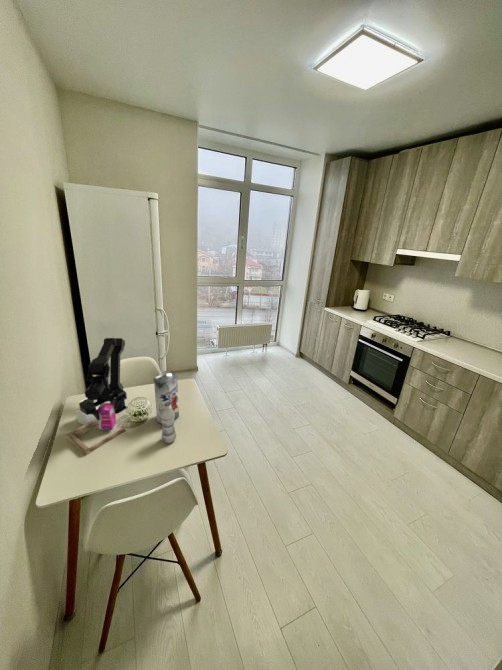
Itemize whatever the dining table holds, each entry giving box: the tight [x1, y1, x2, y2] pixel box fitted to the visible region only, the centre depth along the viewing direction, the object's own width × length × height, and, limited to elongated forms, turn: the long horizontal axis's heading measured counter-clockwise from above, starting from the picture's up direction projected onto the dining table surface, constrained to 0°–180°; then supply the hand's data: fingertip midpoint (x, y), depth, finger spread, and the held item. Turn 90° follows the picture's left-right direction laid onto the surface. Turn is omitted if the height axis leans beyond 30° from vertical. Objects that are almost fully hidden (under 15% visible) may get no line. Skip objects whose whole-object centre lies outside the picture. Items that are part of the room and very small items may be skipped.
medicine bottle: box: [76, 397, 99, 426], centre depth 130 cm, size 7×7×12 cm
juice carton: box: [153, 370, 180, 424], centre depth 132 cm, size 9×10×27 cm
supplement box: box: [97, 402, 117, 431], centre depth 125 cm, size 6×6×12 cm
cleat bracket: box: [66, 419, 126, 456], centre depth 123 cm, size 18×16×3 cm
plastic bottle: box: [160, 402, 177, 444], centre depth 120 cm, size 6×7×20 cm
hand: (106, 415), depth 125 cm, fingers closed on supplement box, 8 cm apart
